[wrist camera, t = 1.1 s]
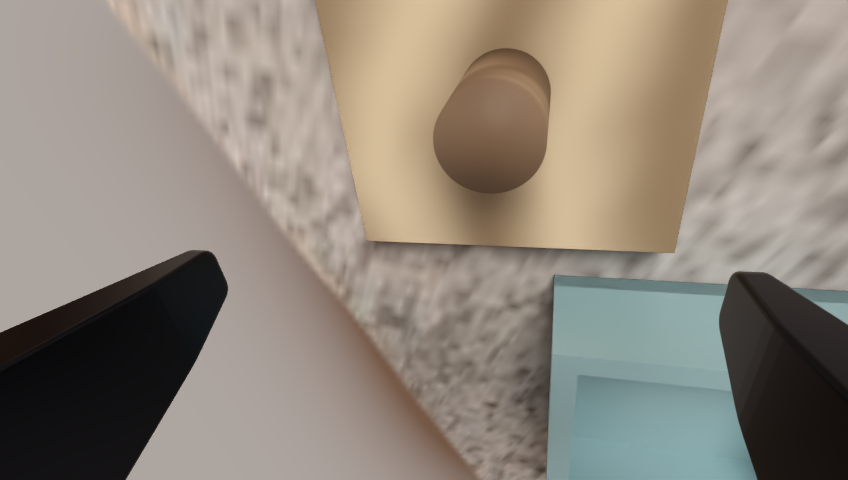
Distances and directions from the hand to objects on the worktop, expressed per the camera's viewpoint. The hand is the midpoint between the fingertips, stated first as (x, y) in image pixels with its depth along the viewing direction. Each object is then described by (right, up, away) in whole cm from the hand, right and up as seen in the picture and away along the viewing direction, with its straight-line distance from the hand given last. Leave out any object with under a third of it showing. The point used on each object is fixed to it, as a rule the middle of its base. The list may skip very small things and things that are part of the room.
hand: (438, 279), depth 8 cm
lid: (+3, +6, +9) cm, 12 cm away
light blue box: (+12, -6, +16) cm, 21 cm away
